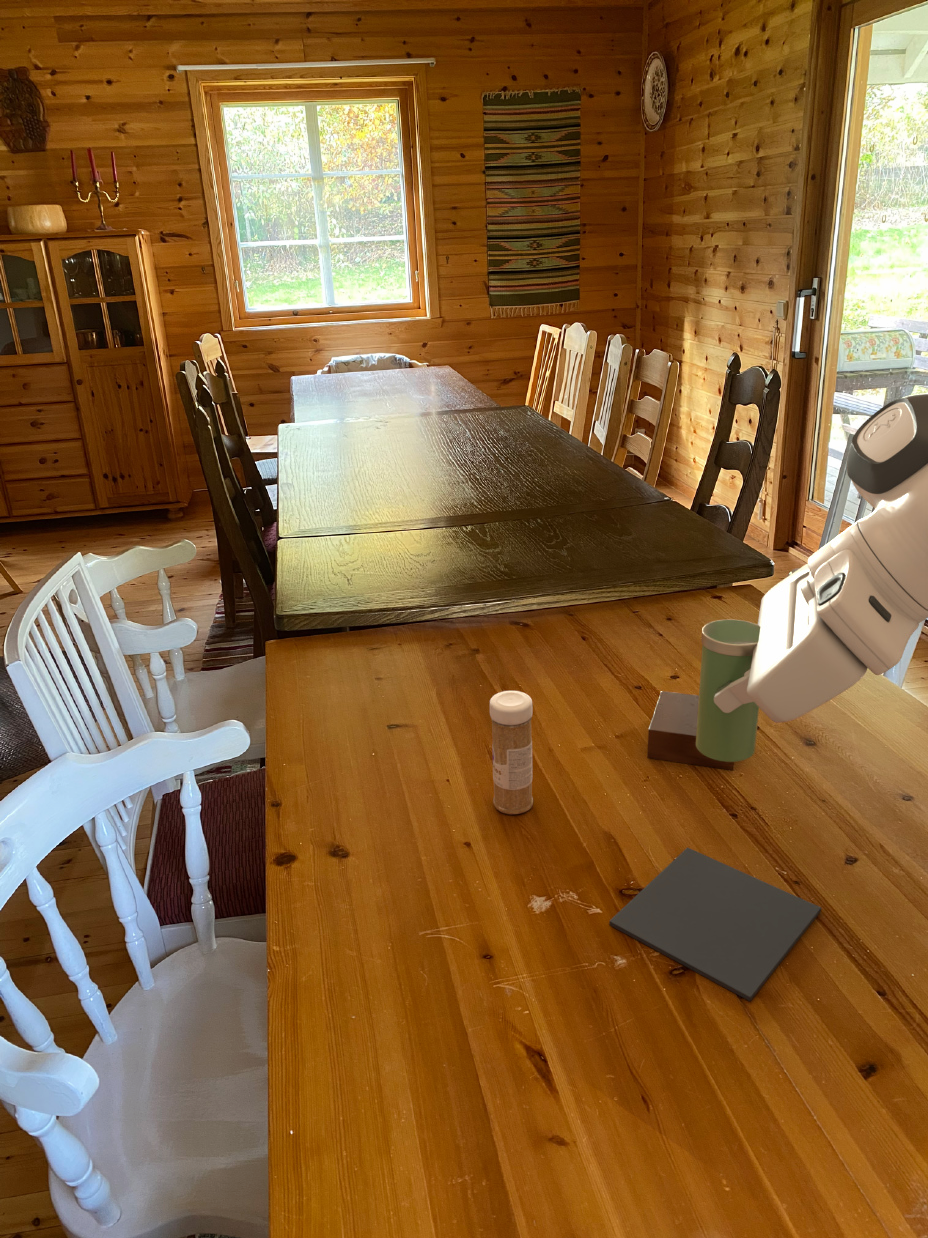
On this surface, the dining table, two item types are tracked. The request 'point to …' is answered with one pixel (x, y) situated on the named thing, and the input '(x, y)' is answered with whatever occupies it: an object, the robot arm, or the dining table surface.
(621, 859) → the dining table surface
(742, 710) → the green canister
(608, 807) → the dining table surface
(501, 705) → the sprinkles bottle
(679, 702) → the walnut block
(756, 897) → the rubber mat
